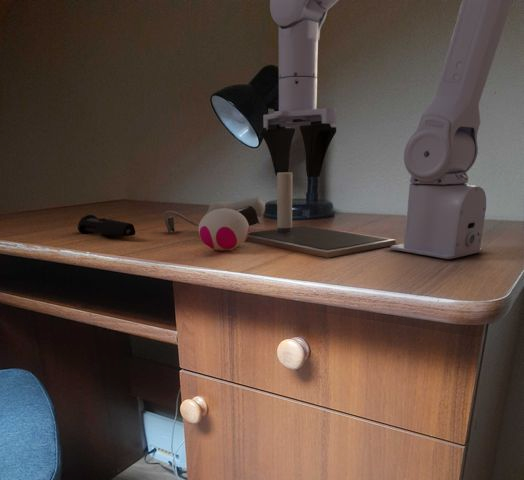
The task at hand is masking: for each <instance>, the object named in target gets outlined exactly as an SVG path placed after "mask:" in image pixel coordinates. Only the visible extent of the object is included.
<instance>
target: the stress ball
mask: <svg viewBox="0 0 524 480" xmlns="http://www.w3.org/2000/svg"><path fill="white" fill-rule="evenodd" d="M206 213H207V212H206ZM206 213H205V214H204V216H203V217H202V218H201V220H198V219H197V221H198V223H200V224H199V226H198V228H197V229H198V231H197V232H198V237H199V239H200V240H201V241H202V242H203V244H204V245H205V246H207V247H208V248H210V249H212V250H215V251H212V252H210V254H213V253H216V252H219V251H222V252H226V251H232V250H234V249H237V248H239V247H240V246H242V245H243V244H244V243H245V241H247V240H246V239H247V237H248V234H249V233H250V226H249V224H248V222H247V220H246V218H245V217H244V216H243V215H242V214H241V213H239V212H237V211H235V210H232V209H227V208H221V209H216V210H213V211H211V212H209V213H207V214H206Z"/></svg>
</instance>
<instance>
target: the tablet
mask: <svg viewBox="0 0 524 480" xmlns="http://www.w3.org/2000/svg"><path fill="white" fill-rule="evenodd" d="M245 241H247V242H252V243H257V244H261V245H266V246H270V247H275V248H280V249H284V250H289V251H294V252H298V253H303V254H307V255H311V256H316V257H321V258H326V259H328V258H329V259H330V258H334V257H340V256H345V255H351V254H355V253H360V252H361V253H362V252H366V251H371V250H377V249H383V248H386V247H391V246H393V245H396V241H397V240H396V239H394V238H388V237H381V236H373V235H369V234H361V233H355V232H349V231H344V230H343V231H342V230H337V229H336V230H335V229H330V228H324V227H318V226H317V227H316V226H311V225H310V226H309V225H297V226H292V227H291V231H290V232H279V231H278V228H275V229H268V230H259V231H253V232H249V234H248V237H247V239H246V240H245Z"/></svg>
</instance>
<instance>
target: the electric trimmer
mask: <svg viewBox="0 0 524 480" xmlns="http://www.w3.org/2000/svg"><path fill="white" fill-rule="evenodd" d="M77 231H78V232H79V233H80V234H86V233H95V234H100V235H101V236H102V237H106V238H125V237H130V236H135V235H136V229H135V226H134V224H133V223H130V222H125V221H119V220H115V219H108V218H99V217H97V216H96V215H93V214H87V215H85V216H82V217H81V219H80V220H79V222H78V225H77Z"/></svg>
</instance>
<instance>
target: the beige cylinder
mask: <svg viewBox="0 0 524 480" xmlns="http://www.w3.org/2000/svg"><path fill="white" fill-rule="evenodd" d="M276 191H277V192H276V194H277V195H276V204H277V205H276V209H277V210H276V215H277V217H276V219H277V223H276V227H277V229H278V231H279V232H290V231H291V227H293V172H291V171H288V172H283V173H277V176H276Z"/></svg>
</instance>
